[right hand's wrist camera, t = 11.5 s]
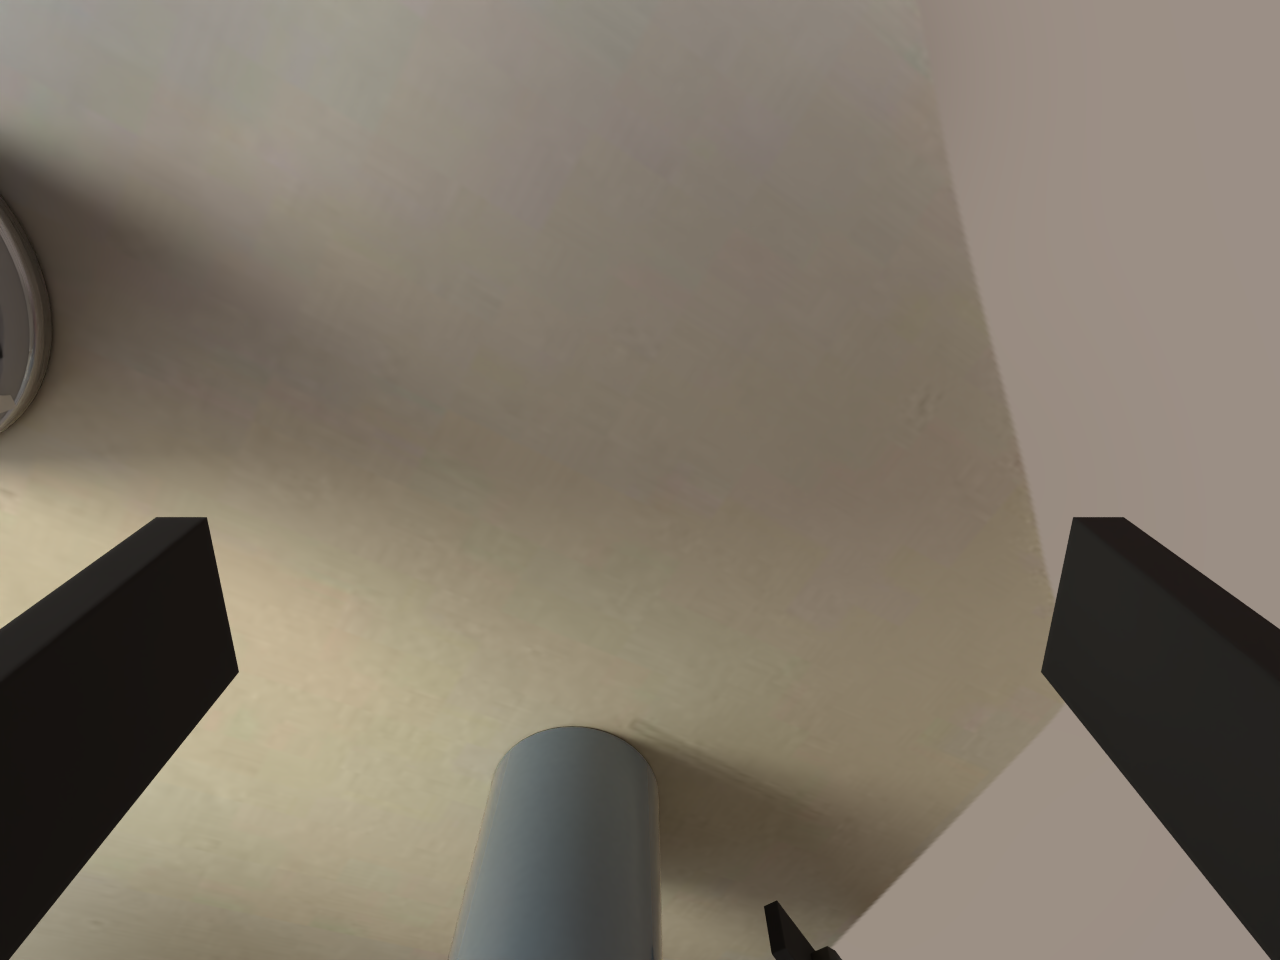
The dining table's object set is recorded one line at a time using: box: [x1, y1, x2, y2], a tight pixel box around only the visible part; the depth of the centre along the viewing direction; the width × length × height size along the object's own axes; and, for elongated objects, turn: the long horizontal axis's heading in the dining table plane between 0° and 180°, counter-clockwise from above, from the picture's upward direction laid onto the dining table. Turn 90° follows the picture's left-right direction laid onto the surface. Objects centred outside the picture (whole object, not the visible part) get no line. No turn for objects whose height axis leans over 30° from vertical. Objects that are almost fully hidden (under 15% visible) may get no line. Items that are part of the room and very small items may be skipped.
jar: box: [448, 727, 663, 960], centre depth 37 cm, size 9×9×17 cm
